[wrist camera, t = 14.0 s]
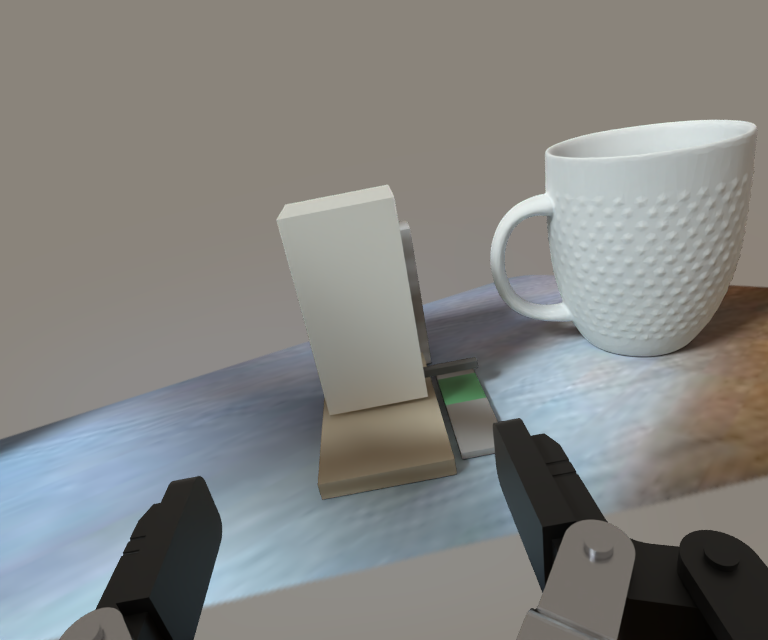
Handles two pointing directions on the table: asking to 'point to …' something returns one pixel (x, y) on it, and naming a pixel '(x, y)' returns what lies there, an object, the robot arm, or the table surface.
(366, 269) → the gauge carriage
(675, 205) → the mug
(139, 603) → the robot arm
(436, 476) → the gauge base
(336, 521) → the table surface
